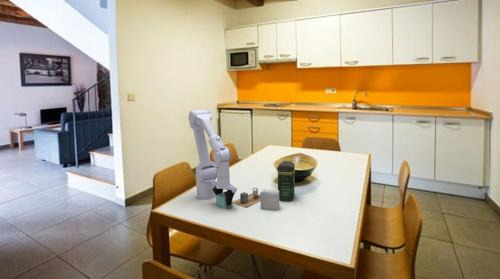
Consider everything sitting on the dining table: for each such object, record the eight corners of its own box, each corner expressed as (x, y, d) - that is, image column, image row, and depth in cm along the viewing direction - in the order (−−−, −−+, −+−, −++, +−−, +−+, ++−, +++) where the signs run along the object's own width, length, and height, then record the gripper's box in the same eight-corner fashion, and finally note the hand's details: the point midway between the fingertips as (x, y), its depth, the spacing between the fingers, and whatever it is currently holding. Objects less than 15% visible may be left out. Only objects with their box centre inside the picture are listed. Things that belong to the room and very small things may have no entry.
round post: (251, 197, 147) (251, 189, 146) (255, 196, 149) (255, 187, 148) (255, 199, 145) (255, 190, 144) (259, 197, 147) (259, 188, 146)
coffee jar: (293, 203, 140) (293, 165, 137) (276, 202, 142) (275, 164, 139) (295, 196, 149) (295, 160, 146) (280, 195, 151) (279, 159, 148)
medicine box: (279, 208, 136) (279, 189, 134) (277, 212, 132) (277, 193, 130) (262, 206, 138) (262, 188, 136) (260, 210, 134) (260, 192, 132)
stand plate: (230, 204, 142) (230, 202, 141) (253, 194, 153) (253, 193, 153) (246, 209, 135) (246, 208, 135) (268, 199, 147) (268, 197, 146)
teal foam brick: (216, 207, 138) (216, 195, 137) (224, 203, 142) (224, 191, 141) (224, 210, 135) (223, 197, 134) (232, 206, 139) (232, 194, 138)
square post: (240, 202, 141) (240, 193, 140) (244, 201, 143) (243, 192, 142) (244, 204, 139) (244, 195, 138) (248, 202, 141) (248, 193, 140)
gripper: (206, 174, 138) (207, 202, 140) (228, 180, 128) (229, 210, 131) (217, 171, 143) (218, 198, 145) (239, 176, 133) (240, 205, 136)
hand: (224, 203), depth 138 cm, fingers open, 5 cm apart
